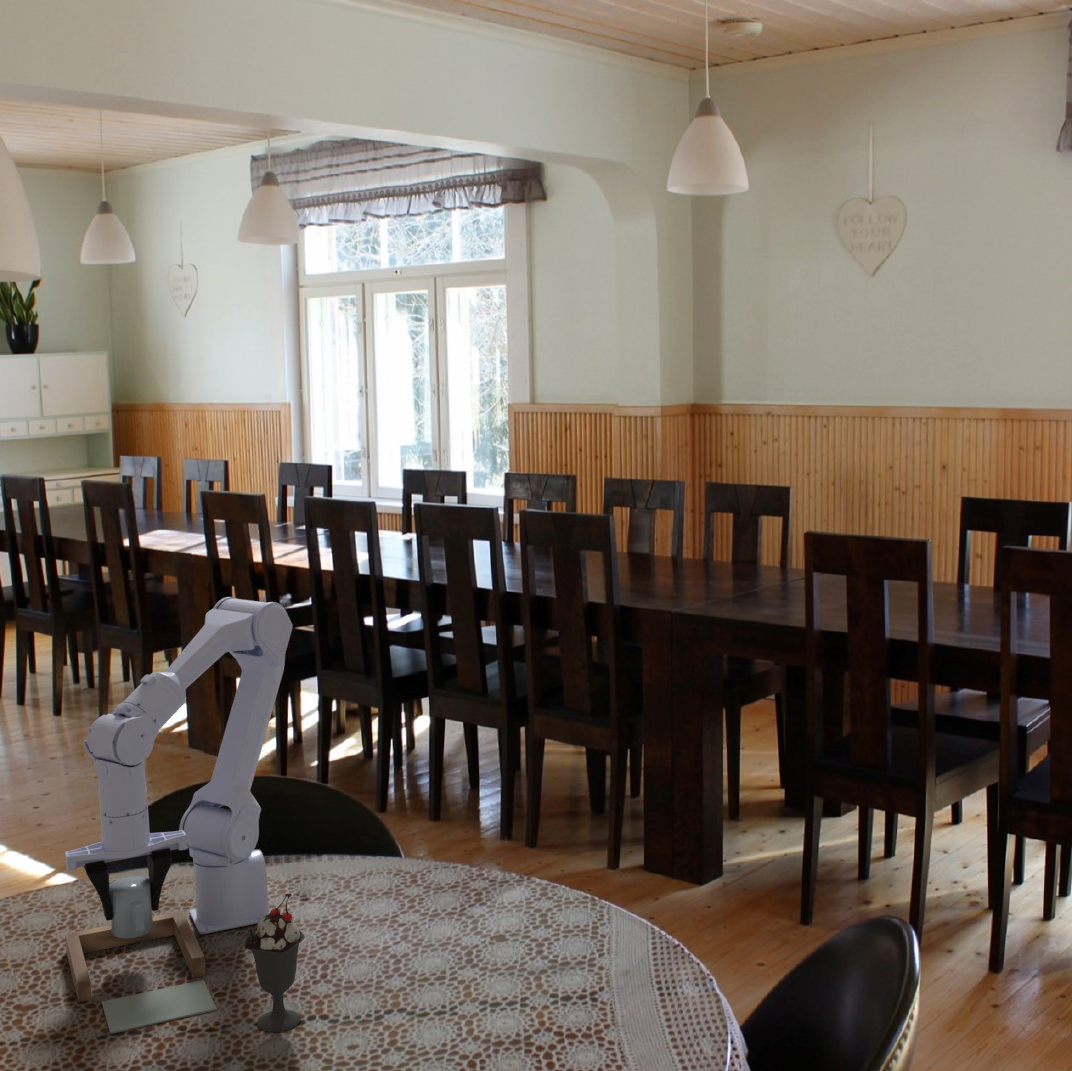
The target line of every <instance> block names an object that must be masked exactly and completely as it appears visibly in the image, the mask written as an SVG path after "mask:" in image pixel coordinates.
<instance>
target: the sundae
mask: <svg viewBox="0 0 1072 1071" xmlns="http://www.w3.org/2000/svg"><path fill="white" fill-rule="evenodd" d="M290 897H292V893H285V896H284V898H283V900H282V901H281V903H280V904H279V905H278V906H277V907H275V908H272V909H271V910H270V911H269V912H270V913H269V914H268V915H266V916H264V917H263V918H262V919H261V921H260V922H259V923H257V927H256V931H253V929H252V928H251V927H250V926H247V931H248V933H249V934H248V936H246V939H245V943H244V949H245V950H249V951H251V952H252V955H253V959H254V965H255V969H256V976H257V979H258V984H259V986H260V988H261V989H263V991H264V992H266V993H267V994H270V995H271V996H272V1010H271V1011H268V1012H266V1013H265V1014H262V1015H261V1016H260V1018H259V1019H258V1021H257V1024H256V1025H257V1026H258V1028H259V1029H261V1030H263V1032H267V1033H281V1032H286V1031H289V1030H292V1029H293V1028H295V1027H297V1026H298V1025H299V1024H300V1022H301V1019H302V1016H301V1015H300V1013H299V1012H297V1011H295V1010H293V1009H291V1010H290V1009H286V1007H285V1003H284V994H285V992H287V991H288V990H289V989H291V987H292V985H293V984H294V982H295V981H296V980H295V979H296V975H297V965H298V954H299V947H300V946H299V945H300V944H301V942H303V941H304V940H305V935H304V932H302V931H301V930H300V929H299V927H298V926H297V923H295V922H294V921H292V919H293V914H292V913H291V912H289V910H288V900H289V899H290ZM286 898H287V899H286ZM285 900H286V901H285ZM284 902H285V912H283V913H282V914H281V910H280V909H279V908H281V907H282V905H283V904H284Z"/></svg>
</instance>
